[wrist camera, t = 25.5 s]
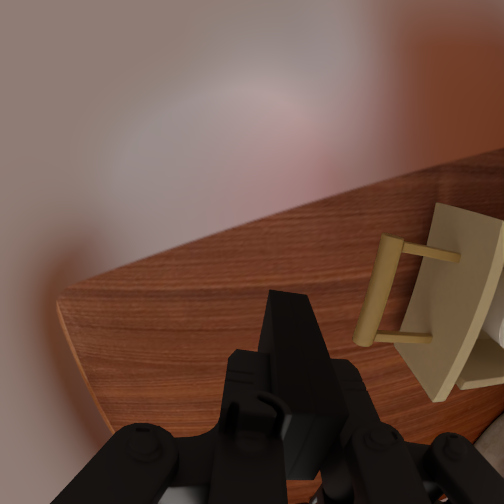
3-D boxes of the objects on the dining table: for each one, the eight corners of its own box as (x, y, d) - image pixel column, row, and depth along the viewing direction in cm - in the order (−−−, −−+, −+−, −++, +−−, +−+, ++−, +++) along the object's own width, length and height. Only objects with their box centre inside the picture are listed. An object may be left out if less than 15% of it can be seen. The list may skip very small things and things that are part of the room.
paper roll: (478, 254, 20) (521, 276, 15) (511, 269, 20) (549, 290, 15) (453, 315, 21) (489, 347, 16) (488, 323, 22) (522, 351, 16)
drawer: (327, 340, 23) (352, 407, 16) (366, 183, 20) (422, 193, 12) (509, 345, 24) (547, 379, 16) (544, 241, 21) (593, 261, 13)
